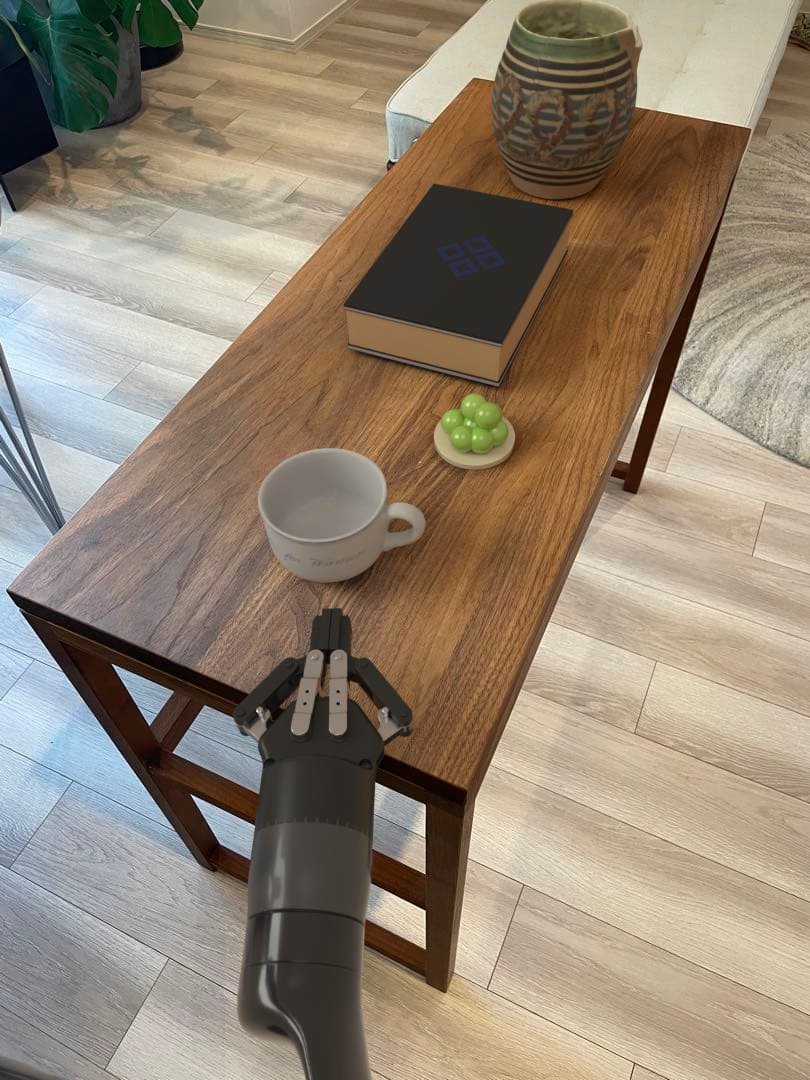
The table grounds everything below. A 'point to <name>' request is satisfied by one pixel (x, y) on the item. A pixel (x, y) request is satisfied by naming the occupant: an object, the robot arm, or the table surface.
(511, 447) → the grapes
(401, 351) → the book
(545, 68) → the pottery
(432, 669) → the table surface
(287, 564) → the teacup
